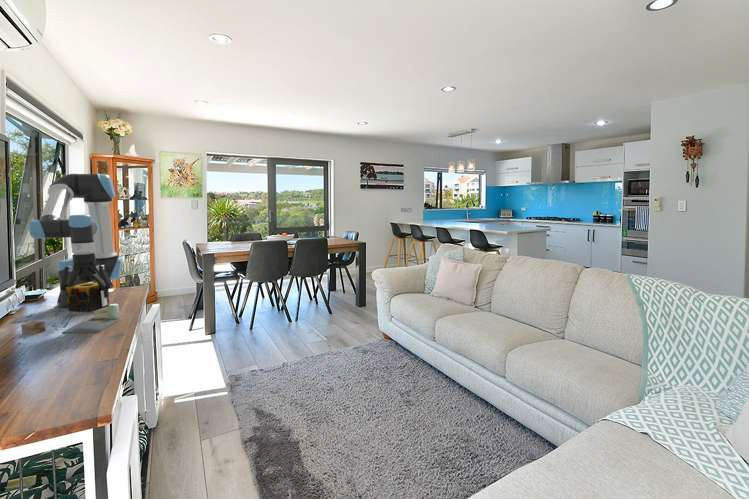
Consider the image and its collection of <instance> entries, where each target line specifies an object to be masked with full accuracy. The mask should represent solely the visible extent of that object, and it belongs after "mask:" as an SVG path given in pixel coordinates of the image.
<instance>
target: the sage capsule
mask: <svg viewBox="0 0 749 499" xmlns="http://www.w3.org/2000/svg"><path fill="white" fill-rule="evenodd" d="M106 308H107V318H106V319H107V320H118V319H120V309H119V304H118V303H110V304H109V306H107V307H106Z"/></svg>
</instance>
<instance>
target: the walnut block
mask: <svg viewBox="0 0 749 499" xmlns="http://www.w3.org/2000/svg"><path fill="white" fill-rule="evenodd" d="M20 326H21V327H20V328H21V334H22V335H32V336H33V335H37V334H40V333H42V332H44V331H45V332H46V324H45V320H43V321H42V320H32V321H28V322H25V323H22V324H20Z"/></svg>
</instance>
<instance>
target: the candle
mask: <svg viewBox="0 0 749 499" xmlns="http://www.w3.org/2000/svg"><path fill="white" fill-rule="evenodd" d="M66 289H67V297H68V308H67V310H68V312H70V313H72V312H73V313H74V312H75V313H92V312H94V311H95V310H98V309H102V308H104V307H107V306H109V303H110V299H109V297H107V303H108V305H106V306H102V299H101V290H103V289H102V288H101V287H100V286H99V285H98V283H97V282H89V283H84V284H79V285H75V286H71V287H67V288H66Z"/></svg>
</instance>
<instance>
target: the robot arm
mask: <svg viewBox="0 0 749 499" xmlns="http://www.w3.org/2000/svg"><path fill="white" fill-rule="evenodd" d="M47 195H48V197H47V200H46V202H45V205H44V207H43V209H42V213H41V215H40V217H39V219H33V220H30V221H29V224H28V232H29V236H30V237H31V238H32V239H42V240H46V239H59V238H70V244H71V254H72V256H71V257H70V258H67V259H63V260H60V261H58V262H57V273H58V274H57V275H58V282H59V294H58V298H57V301H56V303H57V307H58V308H61V309H62V308H63V309H64V308H67V309H69V308H68V297H67V289H66V288H67V287H71V286H75V285H79V284H84V283H98V285H99V286H100V287H101V288H102V289H103V290H101V299H102V306H106V305H108V303H107V297H108V298H109V297H110V291H109V289H112V288H113V287H114V284H113V282H112V281H116V280H119V279H120V278H121V274H122V269H123V268H122V265H123V264H122V263H123V260H122V257H120V256H119V255H118V253H117V252H116V251H115V250H114V249H115V248H114V241H113V239H114V238H113V231H112V221H111V212H110V204H112V202H113V199H114V198H116V192H115V187H114V184H113V180H112V178H111V176H110V175H108V174H103V173H68V174H65V175H62V176H60V177H58V178H56V179H55V180H54V181H53V182H52V183H51V184H50V185H49V186H48V190H47ZM73 199H83V203H85V204H86V205H87V206H88V214H72V215H69V216H68V219H67V218H65V215H66V212H67V209H68V206H69V203H70V201H72V200H73ZM64 218H65V219H64Z"/></svg>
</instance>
